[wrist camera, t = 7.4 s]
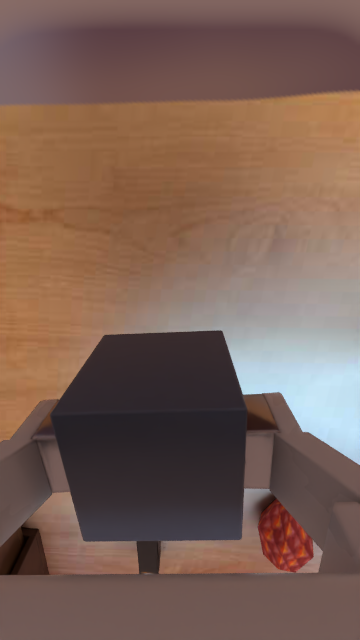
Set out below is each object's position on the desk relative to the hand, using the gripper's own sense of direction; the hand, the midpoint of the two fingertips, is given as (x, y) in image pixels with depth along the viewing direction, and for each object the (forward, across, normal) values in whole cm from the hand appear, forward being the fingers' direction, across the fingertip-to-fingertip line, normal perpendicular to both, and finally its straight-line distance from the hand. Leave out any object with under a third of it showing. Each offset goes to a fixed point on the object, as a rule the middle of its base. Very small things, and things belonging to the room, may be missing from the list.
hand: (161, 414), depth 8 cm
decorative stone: (+17, -11, +29) cm, 36 cm away
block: (+2, 0, 0) cm, 2 cm away
